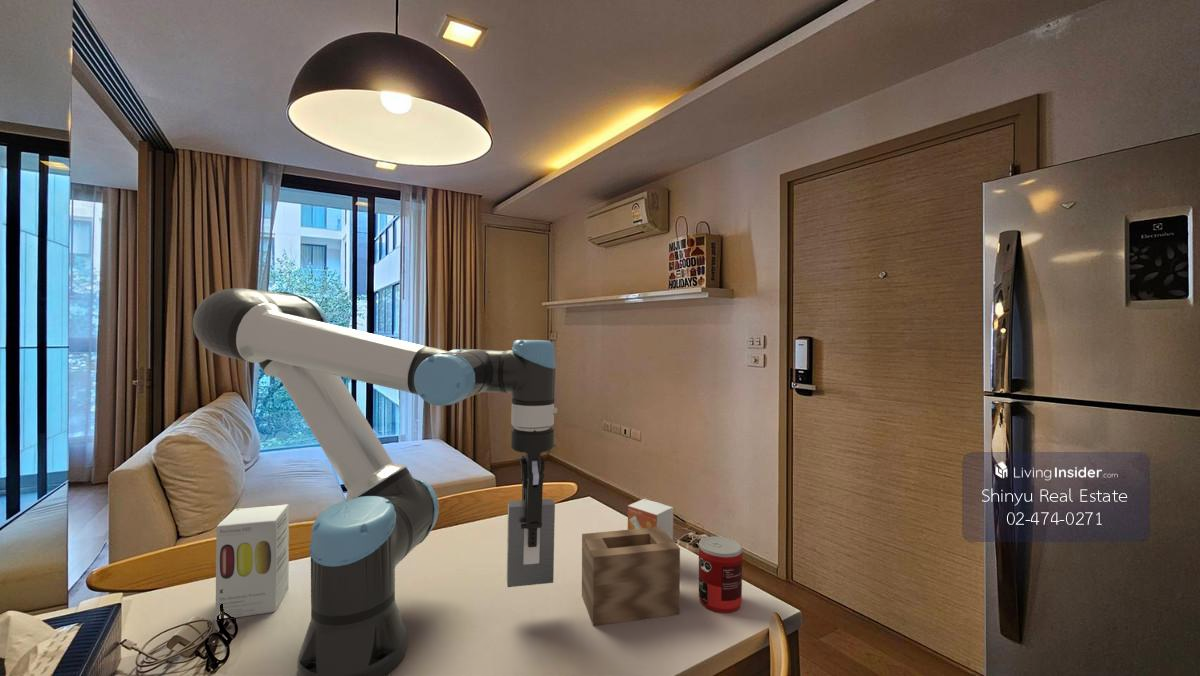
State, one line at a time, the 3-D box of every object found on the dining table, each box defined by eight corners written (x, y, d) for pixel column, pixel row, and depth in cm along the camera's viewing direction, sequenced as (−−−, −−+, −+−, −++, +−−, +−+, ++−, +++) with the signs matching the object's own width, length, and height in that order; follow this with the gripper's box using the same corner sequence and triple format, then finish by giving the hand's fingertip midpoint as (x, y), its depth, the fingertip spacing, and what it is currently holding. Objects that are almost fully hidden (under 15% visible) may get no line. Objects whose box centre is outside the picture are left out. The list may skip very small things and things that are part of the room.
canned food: (701, 588, 98) (702, 533, 98) (743, 596, 95) (744, 539, 95) (694, 608, 91) (695, 549, 91) (739, 617, 88) (740, 556, 88)
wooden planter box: (593, 625, 85) (593, 557, 85) (581, 595, 95) (582, 533, 95) (679, 614, 89) (679, 548, 89) (660, 586, 99) (660, 526, 99)
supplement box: (213, 622, 86) (212, 526, 86) (232, 595, 95) (232, 508, 94) (277, 612, 89) (276, 519, 89) (290, 586, 98) (290, 502, 98)
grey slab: (507, 587, 86) (508, 507, 85) (506, 578, 88) (508, 501, 88) (553, 582, 87) (554, 504, 87) (550, 574, 90) (552, 498, 90)
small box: (626, 563, 108) (626, 504, 108) (644, 554, 113) (644, 497, 113) (656, 576, 103) (656, 514, 103) (673, 566, 107) (674, 506, 107)
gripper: (560, 435, 81) (557, 578, 81) (548, 418, 96) (545, 537, 97) (514, 437, 79) (511, 582, 79) (509, 419, 94) (506, 540, 95)
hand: (530, 557), depth 88 cm, fingers closed on grey slab, 3 cm apart
